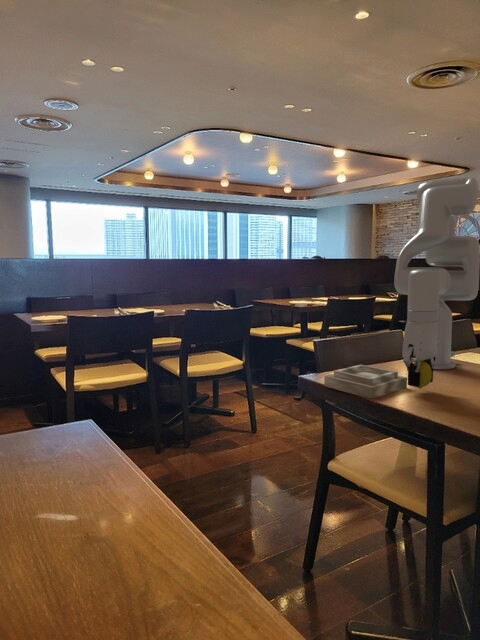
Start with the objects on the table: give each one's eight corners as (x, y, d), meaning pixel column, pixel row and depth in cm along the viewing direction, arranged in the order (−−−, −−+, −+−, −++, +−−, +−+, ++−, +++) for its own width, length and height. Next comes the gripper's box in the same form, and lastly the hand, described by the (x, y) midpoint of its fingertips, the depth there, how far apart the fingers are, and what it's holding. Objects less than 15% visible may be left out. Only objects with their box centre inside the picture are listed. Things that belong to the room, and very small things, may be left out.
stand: (359, 377, 140) (359, 362, 140) (406, 387, 128) (407, 371, 127) (324, 386, 130) (324, 370, 130) (371, 398, 118) (372, 381, 117)
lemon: (427, 385, 125) (428, 357, 124) (434, 391, 120) (435, 362, 119) (406, 385, 126) (407, 357, 125) (412, 391, 121) (413, 362, 119)
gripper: (426, 312, 128) (424, 375, 131) (390, 319, 118) (389, 387, 121) (452, 314, 123) (450, 380, 125) (417, 322, 112) (415, 393, 115)
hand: (420, 383), depth 123 cm, fingers closed on lemon, 5 cm apart
